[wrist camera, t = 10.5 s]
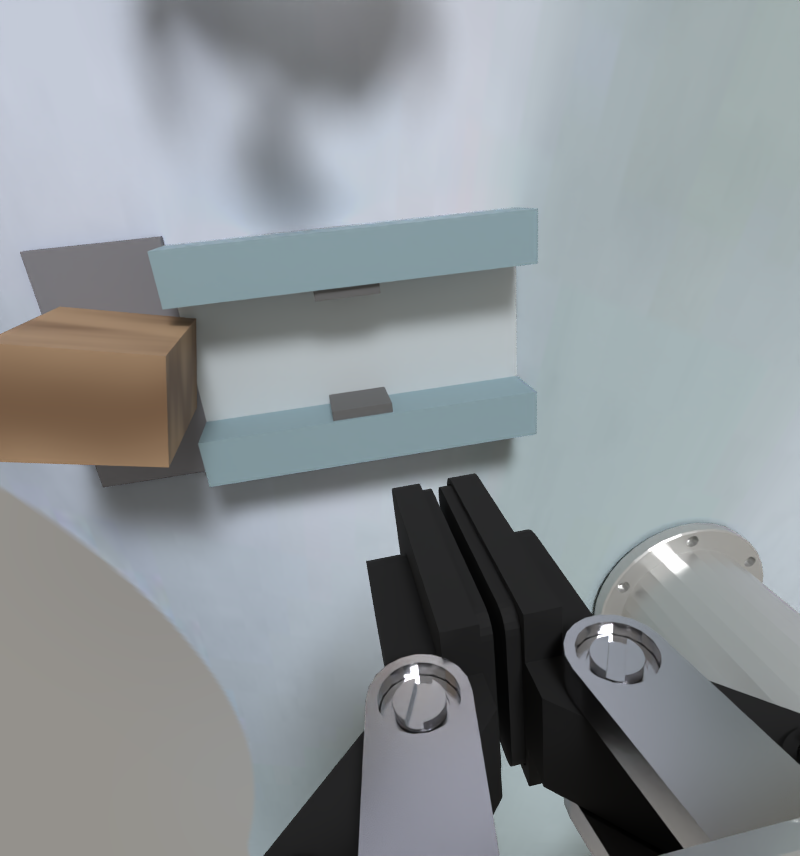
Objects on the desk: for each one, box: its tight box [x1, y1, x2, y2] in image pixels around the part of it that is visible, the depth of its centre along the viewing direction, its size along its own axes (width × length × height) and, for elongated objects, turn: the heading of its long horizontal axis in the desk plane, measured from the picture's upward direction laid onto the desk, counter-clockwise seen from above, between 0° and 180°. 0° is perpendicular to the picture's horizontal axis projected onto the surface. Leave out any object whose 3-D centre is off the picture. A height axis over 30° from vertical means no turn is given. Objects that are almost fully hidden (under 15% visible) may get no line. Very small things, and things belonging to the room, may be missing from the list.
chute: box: [148, 208, 538, 487], centre depth 28 cm, size 11×17×3 cm, turn 95°
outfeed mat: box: [20, 236, 207, 487], centre depth 27 cm, size 12×6×1 cm, turn 6°
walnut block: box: [0, 307, 197, 468], centre depth 24 cm, size 5×6×7 cm
